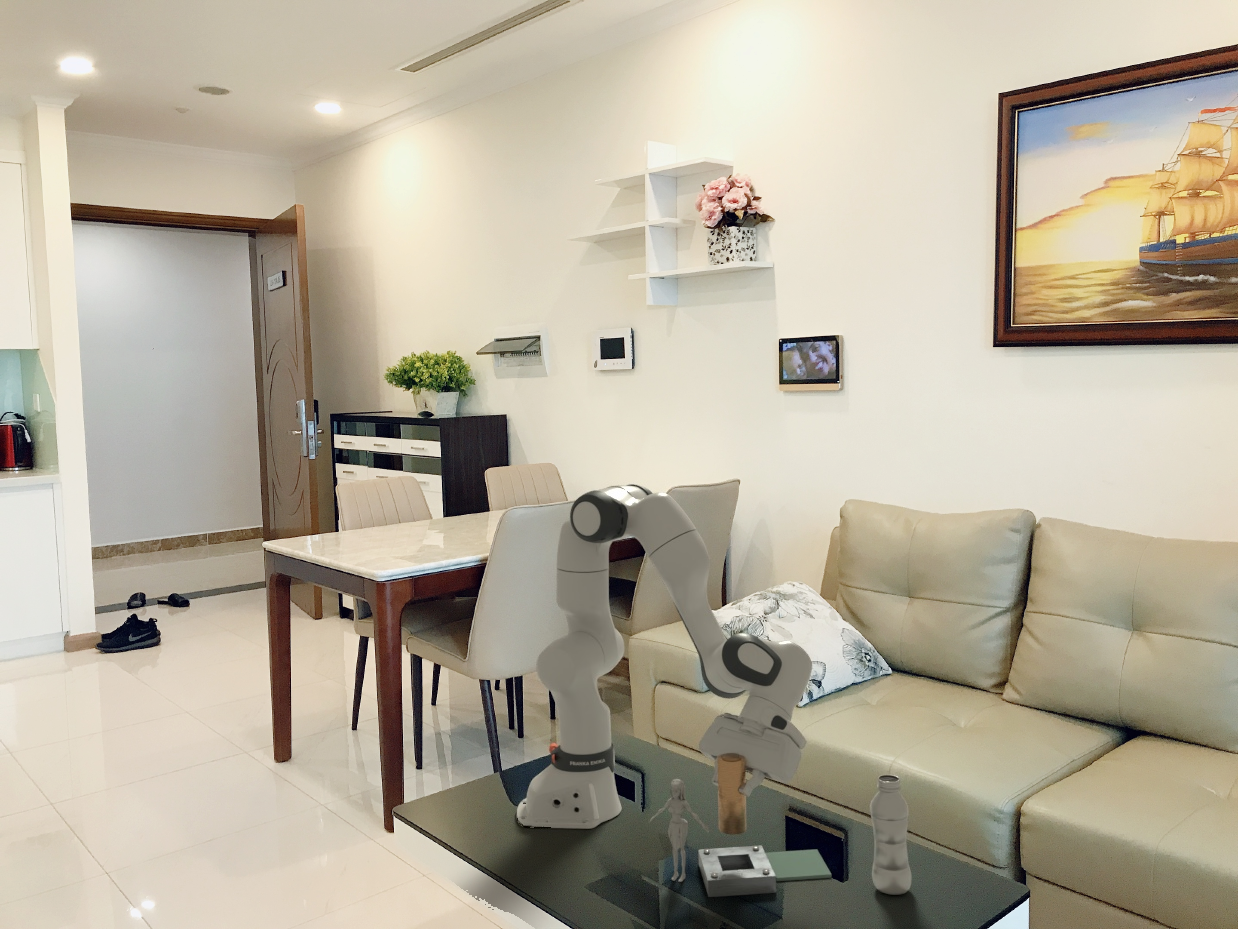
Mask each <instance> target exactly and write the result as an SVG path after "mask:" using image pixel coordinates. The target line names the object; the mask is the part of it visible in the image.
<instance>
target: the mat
mask: <svg viewBox="0 0 1238 929" xmlns="http://www.w3.org/2000/svg"><path fill="white" fill-rule="evenodd" d="M765 854H766V856H767V858H768V860H769V862H770V865H771V867H772V869H773V871H774V873H775V876H776V882H783V881H797V880H798V881H799V880H800V881H801V880H813V879H814V880H815V879H817V880H818V879H829V878H830V879H832V873H831V871H830V869H829V868H828V866H827V864H826V862H825V861H824V859H823V857H822V855H821V854H820V852H819V850H818V848H817V849H803V850H802V849H800V850H786V851H785V850H784V851H771V852H765Z"/></svg>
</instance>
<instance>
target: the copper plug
mask: <svg viewBox="0 0 1238 929" xmlns="http://www.w3.org/2000/svg"><path fill="white" fill-rule="evenodd" d="M717 765H718V786H717V803H718V804H717V805H718V808H717V809H718V810H717V811H718V812H717V813H718V814H717V815H718V830H719V831H720V832H721V833H723V834H725V835H731V836H732V835H741V834H743V833H745V832H747V796H745V795H742V794H741V793H740V792H739V787H741V783H742V782H744V783H746V782H747V780H746V779H747V778H746V777H747V776H746V771H745V757H744V756H742V755H739V754H736V753H726V754H722V755H719V756H718V757H717Z"/></svg>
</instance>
